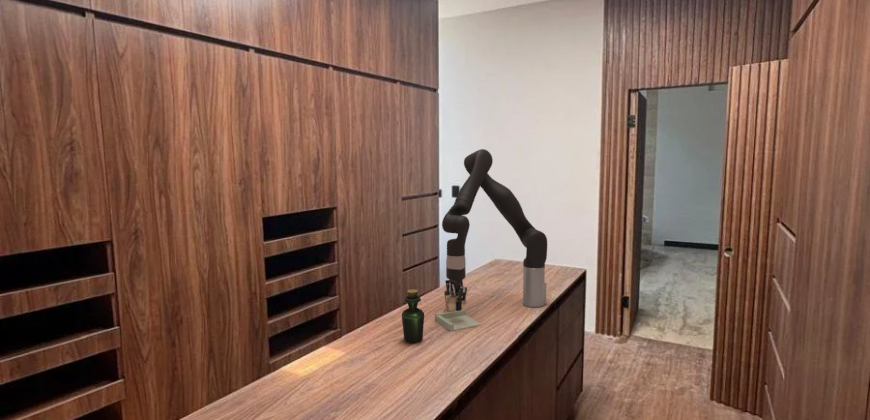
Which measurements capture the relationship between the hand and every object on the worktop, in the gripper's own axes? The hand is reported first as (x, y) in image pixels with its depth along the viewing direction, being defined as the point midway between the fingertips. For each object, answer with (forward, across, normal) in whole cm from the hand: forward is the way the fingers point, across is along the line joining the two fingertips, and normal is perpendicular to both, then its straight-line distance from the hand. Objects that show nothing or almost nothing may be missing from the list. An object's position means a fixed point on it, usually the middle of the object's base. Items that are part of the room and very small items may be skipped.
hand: (455, 308), depth 180 cm
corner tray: (+6, 0, 0) cm, 6 cm away
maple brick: (0, 0, 0) cm, 0 cm away
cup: (+6, -14, +6) cm, 16 cm away
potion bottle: (+6, +8, -22) cm, 24 cm away
